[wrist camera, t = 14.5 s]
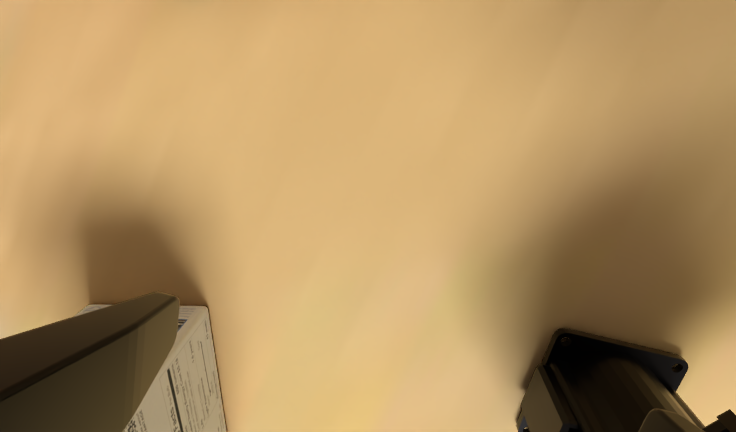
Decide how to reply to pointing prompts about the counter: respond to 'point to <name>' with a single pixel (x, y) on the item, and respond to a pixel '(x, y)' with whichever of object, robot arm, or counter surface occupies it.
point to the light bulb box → (182, 381)
